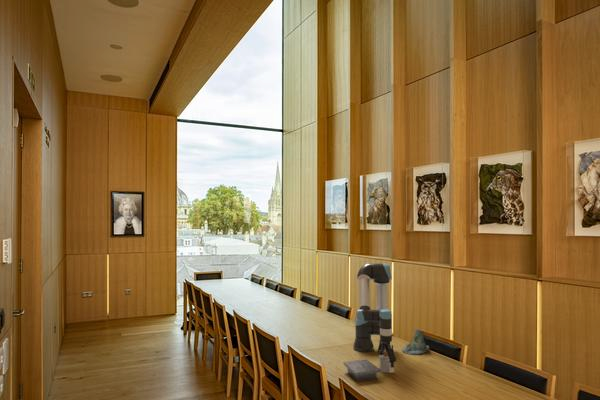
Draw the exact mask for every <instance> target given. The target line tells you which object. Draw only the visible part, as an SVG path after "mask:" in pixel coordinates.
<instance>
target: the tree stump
mask: <svg viewBox="0 0 600 400" xmlns="http://www.w3.org/2000/svg"><path fill="white" fill-rule="evenodd" d="M424 339H425V338H424V331H423V330H421V329H418V328H415V329H414V335H413V339H411V340H410V342H409V343H408V344H405V346H404V347H403V348H402V349H401V352H402V353H404V354H406V355H407V354H408V355H411V356H413V355H414V356H415V355H416V356H419V355H420V356H421V355H423V354H425V353H427V352H428V351H429V350H430V346H429V345H427V344H426V342H425V340H424Z"/></svg>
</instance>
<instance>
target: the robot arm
mask: <svg viewBox="0 0 600 400" xmlns="http://www.w3.org/2000/svg"><path fill="white" fill-rule="evenodd" d="M356 275H357V276H356V280H357V282H358V301H359V302H358V304H359V307H358V309H356V319H355V323H354V326H355V339H354V342H353V346H352V347H353V350H355V351H357V352H362V353H363V352H365V353H366V352H371V351H373V350H374V349H375V347H374V343H373V339H372V336H379V340H378V341H379V343H378V348H377V353H378V355H379V357H378V358H379V363H378V365H379V366H380V357H385V355H384V352H386V353H387V357H389V360H390V361H389V372H388V373H391V374H392V373H395V362H397V359H396V355H395V351H394V345H393V344H391V342H392V341H393V323H392V322H393V321H392V319H393V317H392V316H393V315H392V310H390V309H389V308H388V307H389V305H388V304H389V303H388V299H389V298H388V293H389V291H388V287H389V286H388V284H390V281H391V280H392V279H393V278H392V270H391V265H390V264H389V263H384V262H382V263H381V262H380V263H378V262H377V263H365V264H364V265H362V266H361V267H360V269H359V270H358V272H357V274H356ZM371 280H373V283H374V284H375V309H371V296H370V295H371V294H370V293H371V292H370V291H371V290H370V282H371Z"/></svg>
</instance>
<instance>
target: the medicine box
mask: <svg viewBox="0 0 600 400" xmlns="http://www.w3.org/2000/svg"><path fill="white" fill-rule="evenodd" d="M389 361H390V360H389V357H388V356H384V357H380V365H379V369H380V370H381V372H380V374H383V373H384V374H385V373H386V374H387V373H390V372H389Z"/></svg>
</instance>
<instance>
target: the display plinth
mask: <svg viewBox="0 0 600 400" xmlns="http://www.w3.org/2000/svg"><path fill="white" fill-rule="evenodd" d="M343 365H344V366H345V367H346V368H347V373H348V374H349V375H350V377H351V376H352V378H354V379H355V380H356V382H363V381H372V380H377V374H378V373H379V374H381V370H380V367H379V366H376V365H375V364H373V362H371V361H370V360H368V359H366V358H365V359H360V360H359V359H358V360H349V361H343Z"/></svg>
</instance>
